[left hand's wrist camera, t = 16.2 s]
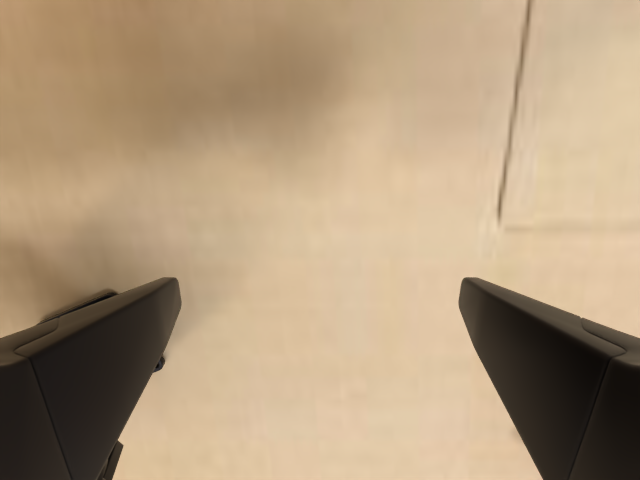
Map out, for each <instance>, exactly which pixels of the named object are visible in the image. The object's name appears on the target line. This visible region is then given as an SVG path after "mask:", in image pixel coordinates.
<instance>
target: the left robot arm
mask: <svg viewBox="0 0 640 480" xmlns="http://www.w3.org/2000/svg"><path fill="white" fill-rule="evenodd" d="M180 309H181V296H180V289H179V283H178V280H177V279H176V278H174V277H164V278H161V279H158V280H155V281H153V282H150V283H147V284H145V285H142V286H139V287H137V288H134V289H132V290H129V291H126V292H124V293H121V294H118V295H117V294H115V293H112V292H110V293H107V294H105V295H102V296H100V297H98V298H95V299H93V300H90V301H88V302H86V303H83V304H81V305H79V306H76V307H74V308H72V309H69V310H67V311H64V312H62V313H60V314H57V315H55V316H53V317H50V318H48V319H46V320H43V321H41V322H40V323H38V324H37V325H36V326H34V327H31V328H28V329H26V330H23V331H20V332H17V333H14V334H11V335H8V336H6V337H3V338H0V480H112V478H113V475H114V472H115V469H116V466H117V463H118V460H119V457H120V454H121V452H122V449H123V445H122V444H121V443H120V442H119V441H118V438H119V436H120V434H121V432H122V431H123V429H124V427H125V425H126V423H127V421H128V419H129V417H130V415H131V413H132V411H133V409H134V408H135V406H136V404H137V402H138V400H139V398H140V396H141V394H142V392H143V390H144V388H145V387H146V385H147V383H148V381H149V379H150V377H151V375H152V373H154V372H156V371H159V370H161V369H162V367H163V365H164V364H165V360H164V358H163V357H162V354H163V352H164V350H165V348H166V346H167V343H168V341H169V338H170V335H171V333H172V330H173V327H174V325H175V322H176V319H177V317H178V314H179V311H180ZM459 309H460V311H461V314H462V317H463V319H464V322H465V325H466V327H467V330H468V333H469V335H470V338H471V341H472V343H473V346H474V348H475V350H476V352H477V354H478V356H479V358H480V360H481V362H482V364H483V365H484V367H485V369H486V371H487V373H488V375H489V377H490V379H491V381H492V383H493V385H494V387H495V388H496V390H497V392H498V394H499V396H500V398H501V400H502V402H503V404H504V406H505V408H506V409H507V411H508V413H509V415H510V417H511V419H512V421H513V423H514V425H515V427H516V429H517V431H518V432H519V434H520V436H521V438H522V440H523V442H524V444H525V446H526V448H527V450H528V452H529V454H530V455H531V457H532V459H533V461H534V463H535V465H536V467H537V469H538V471H539V473H540V475H541V476H542V478H543V480H640V338H637V337H634V336H632V335H629V334H626V333H623V332H620V331H617V330H614V329H612V328H609V327H606V326H604V325H601V324H598V323H595V322H593V321H590V320H587V319H585V318H580V317H579V316H577V315H574V314H572V313H569V312H566V311H564V310H561V309H558V308H556V307H553V306H551V305H548V304H545V303H543V302H540V301H537V300H535V299H532V298H529V297H527V296H524V295H522V294H519V293H516V292H514V291H511V290H508V289H506V288H503V287H501V286H498V285H495V284H493V283H490V282H487V281H485V280H482V279H479V278H472V277H466V278H464V279H463V280H462V283H461V289H460V296H459Z"/></svg>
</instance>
